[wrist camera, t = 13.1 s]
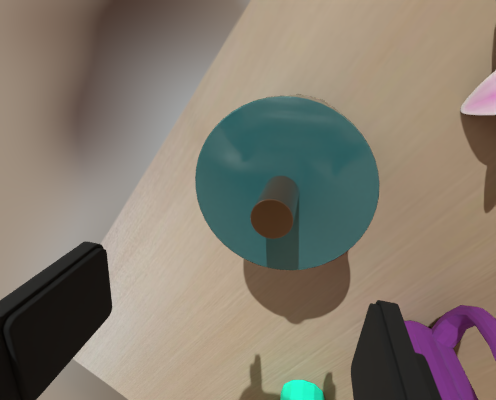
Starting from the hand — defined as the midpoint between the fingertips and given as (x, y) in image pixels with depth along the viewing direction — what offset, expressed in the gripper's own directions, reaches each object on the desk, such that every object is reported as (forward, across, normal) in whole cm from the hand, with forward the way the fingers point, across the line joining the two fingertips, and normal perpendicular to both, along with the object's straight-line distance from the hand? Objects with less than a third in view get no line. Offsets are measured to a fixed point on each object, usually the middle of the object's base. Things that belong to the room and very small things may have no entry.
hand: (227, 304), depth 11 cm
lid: (+12, -1, 0) cm, 12 cm away
